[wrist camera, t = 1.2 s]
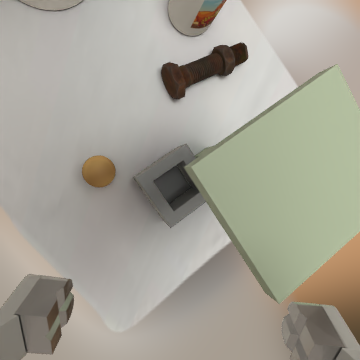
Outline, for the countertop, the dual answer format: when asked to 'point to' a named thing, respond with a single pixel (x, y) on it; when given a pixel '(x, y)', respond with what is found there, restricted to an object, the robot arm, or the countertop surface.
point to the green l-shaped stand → (288, 182)
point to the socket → (167, 211)
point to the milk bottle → (193, 14)
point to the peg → (98, 171)
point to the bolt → (202, 68)
